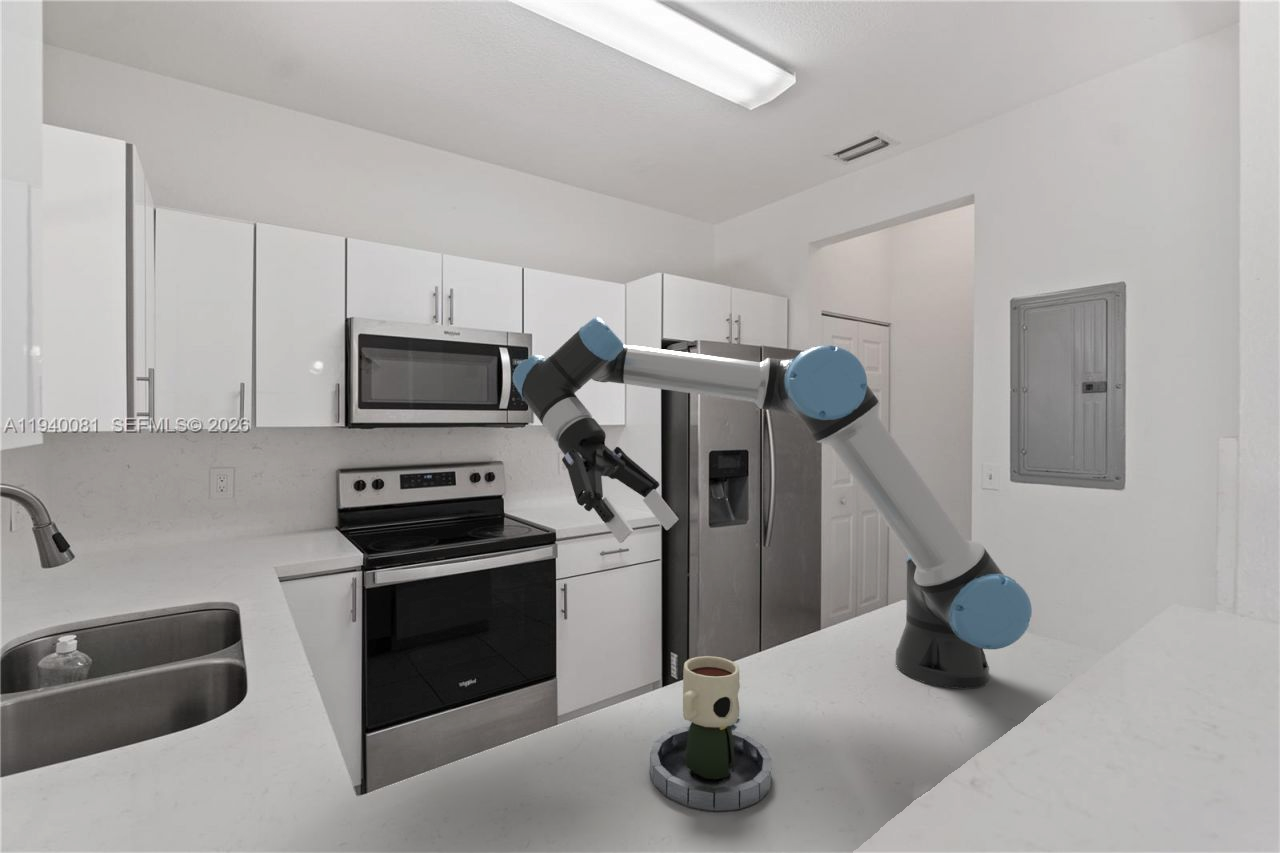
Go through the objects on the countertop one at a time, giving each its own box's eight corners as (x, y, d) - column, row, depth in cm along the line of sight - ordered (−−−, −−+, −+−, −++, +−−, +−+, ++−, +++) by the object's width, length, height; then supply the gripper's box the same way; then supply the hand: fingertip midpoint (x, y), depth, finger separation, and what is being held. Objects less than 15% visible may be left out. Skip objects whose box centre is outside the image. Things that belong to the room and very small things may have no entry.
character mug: (708, 801, 68) (710, 688, 69) (660, 776, 73) (662, 671, 73) (756, 762, 77) (758, 661, 77) (711, 742, 81) (712, 647, 81)
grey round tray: (748, 739, 83) (748, 723, 83) (789, 806, 68) (790, 787, 68) (642, 745, 81) (642, 729, 81) (661, 816, 66) (661, 797, 66)
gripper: (605, 445, 111) (674, 534, 103) (509, 448, 90) (587, 560, 82) (629, 417, 108) (702, 506, 100) (536, 413, 87) (620, 525, 79)
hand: (651, 530), depth 91 cm, fingers open, 13 cm apart
